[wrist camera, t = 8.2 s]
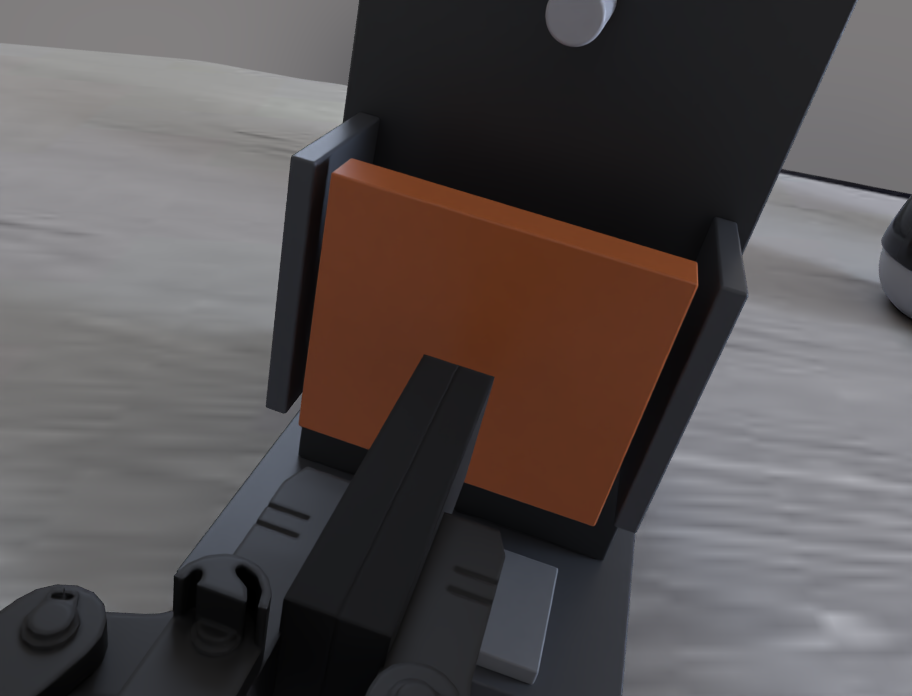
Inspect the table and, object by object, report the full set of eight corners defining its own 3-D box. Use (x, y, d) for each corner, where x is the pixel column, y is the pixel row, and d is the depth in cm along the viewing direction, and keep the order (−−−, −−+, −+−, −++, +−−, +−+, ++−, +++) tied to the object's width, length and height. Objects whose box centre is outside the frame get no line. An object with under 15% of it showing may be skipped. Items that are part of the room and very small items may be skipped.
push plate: (594, 527, 19) (699, 284, 16) (296, 426, 20) (330, 172, 17) (599, 497, 20) (698, 261, 17) (315, 401, 21) (351, 157, 18)
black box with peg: (605, 760, 21) (1089, -91, 10) (174, 598, 23) (198, -304, 12) (635, 442, 34) (867, -93, 23) (357, 350, 35) (451, -196, 24)
